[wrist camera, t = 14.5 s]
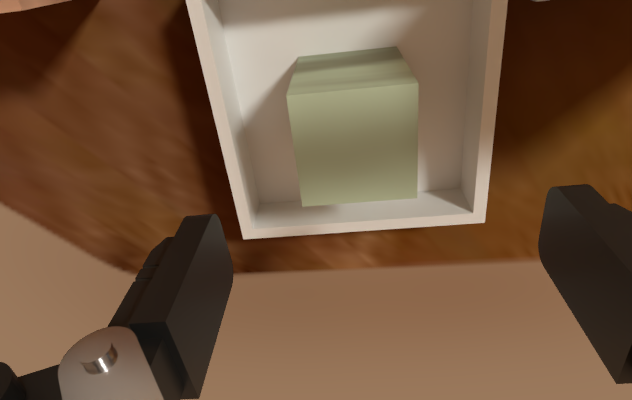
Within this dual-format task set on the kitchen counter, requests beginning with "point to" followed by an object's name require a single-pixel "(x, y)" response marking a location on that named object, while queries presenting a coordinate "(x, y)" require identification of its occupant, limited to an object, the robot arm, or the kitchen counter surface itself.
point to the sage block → (354, 127)
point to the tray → (342, 36)
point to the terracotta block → (24, 4)
